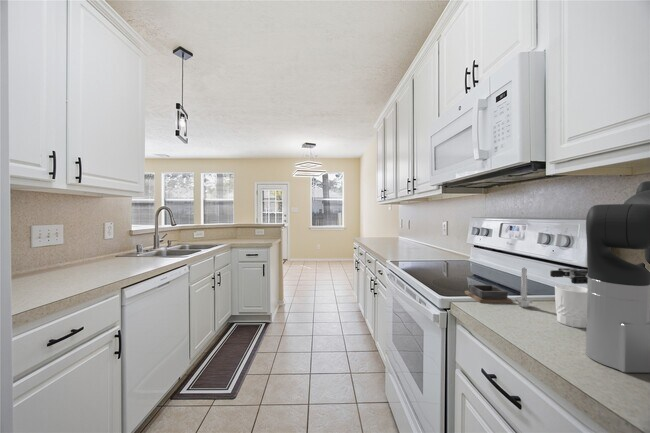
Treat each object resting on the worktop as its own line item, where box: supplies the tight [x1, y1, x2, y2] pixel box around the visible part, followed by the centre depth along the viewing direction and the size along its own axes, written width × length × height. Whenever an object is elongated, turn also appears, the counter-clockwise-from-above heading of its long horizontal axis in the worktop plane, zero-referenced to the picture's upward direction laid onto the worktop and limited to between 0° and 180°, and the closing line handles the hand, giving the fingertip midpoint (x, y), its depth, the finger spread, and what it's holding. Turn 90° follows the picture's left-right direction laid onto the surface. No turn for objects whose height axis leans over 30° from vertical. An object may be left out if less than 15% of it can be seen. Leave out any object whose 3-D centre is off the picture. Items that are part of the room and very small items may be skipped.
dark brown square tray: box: [464, 284, 513, 304], centre depth 103 cm, size 11×11×4 cm
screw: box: [514, 267, 534, 309], centre depth 94 cm, size 13×5×5 cm
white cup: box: [554, 284, 588, 329], centre depth 80 cm, size 8×8×10 cm
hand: (561, 276), depth 94 cm, fingers open, 8 cm apart
